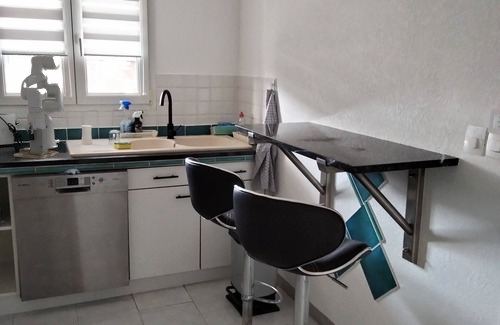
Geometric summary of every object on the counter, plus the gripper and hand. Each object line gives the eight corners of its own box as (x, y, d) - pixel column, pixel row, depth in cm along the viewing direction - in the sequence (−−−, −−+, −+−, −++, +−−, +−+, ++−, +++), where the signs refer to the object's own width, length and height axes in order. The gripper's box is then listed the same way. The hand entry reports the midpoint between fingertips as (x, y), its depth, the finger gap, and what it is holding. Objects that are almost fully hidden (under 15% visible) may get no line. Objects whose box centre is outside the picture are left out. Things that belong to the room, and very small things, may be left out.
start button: (27, 150, 288) (26, 147, 288) (31, 151, 287) (31, 148, 287) (22, 151, 285) (22, 148, 284) (27, 152, 284) (27, 149, 283)
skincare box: (29, 154, 279) (27, 127, 276) (36, 152, 286) (34, 126, 283) (43, 154, 279) (41, 128, 275) (49, 152, 285) (47, 126, 282)
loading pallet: (32, 152, 294) (32, 146, 293) (59, 154, 288) (58, 148, 287) (13, 156, 280) (13, 150, 280) (40, 158, 274) (40, 153, 273)
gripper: (41, 108, 286) (43, 136, 290) (19, 111, 270) (21, 140, 274) (51, 109, 283) (53, 137, 287) (29, 112, 267) (32, 141, 271)
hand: (38, 138), depth 280 cm, fingers open, 9 cm apart
